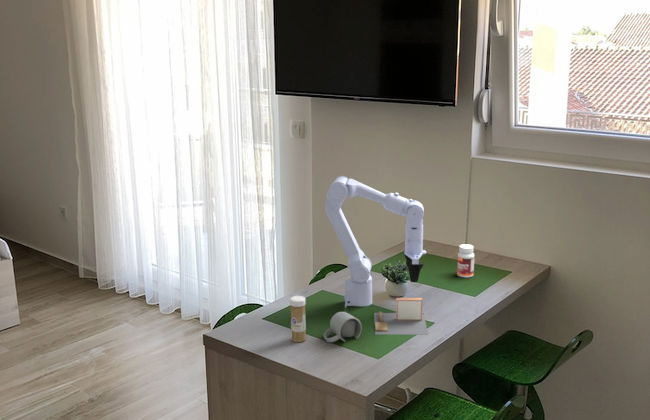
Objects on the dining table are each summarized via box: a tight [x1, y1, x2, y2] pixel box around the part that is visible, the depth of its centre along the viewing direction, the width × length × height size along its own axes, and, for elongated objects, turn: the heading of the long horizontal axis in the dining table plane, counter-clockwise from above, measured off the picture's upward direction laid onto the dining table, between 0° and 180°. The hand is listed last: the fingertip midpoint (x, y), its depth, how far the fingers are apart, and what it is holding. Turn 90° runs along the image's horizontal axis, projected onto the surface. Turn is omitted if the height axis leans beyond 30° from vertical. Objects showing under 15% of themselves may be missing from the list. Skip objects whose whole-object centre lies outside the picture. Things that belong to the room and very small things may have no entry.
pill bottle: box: [456, 243, 475, 278], centre depth 257 cm, size 6×6×11 cm
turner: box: [374, 311, 387, 331], centre depth 217 cm, size 4×12×1 cm, turn 177°
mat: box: [373, 312, 429, 336], centre depth 217 cm, size 16×16×1 cm
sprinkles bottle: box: [289, 295, 307, 343], centre depth 207 cm, size 5×5×14 cm
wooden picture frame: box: [395, 297, 423, 320], centre depth 218 cm, size 8×2×7 cm, turn 87°
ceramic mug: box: [323, 311, 363, 343], centre depth 208 cm, size 11×8×8 cm
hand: (413, 277), depth 228 cm, fingers open, 7 cm apart
